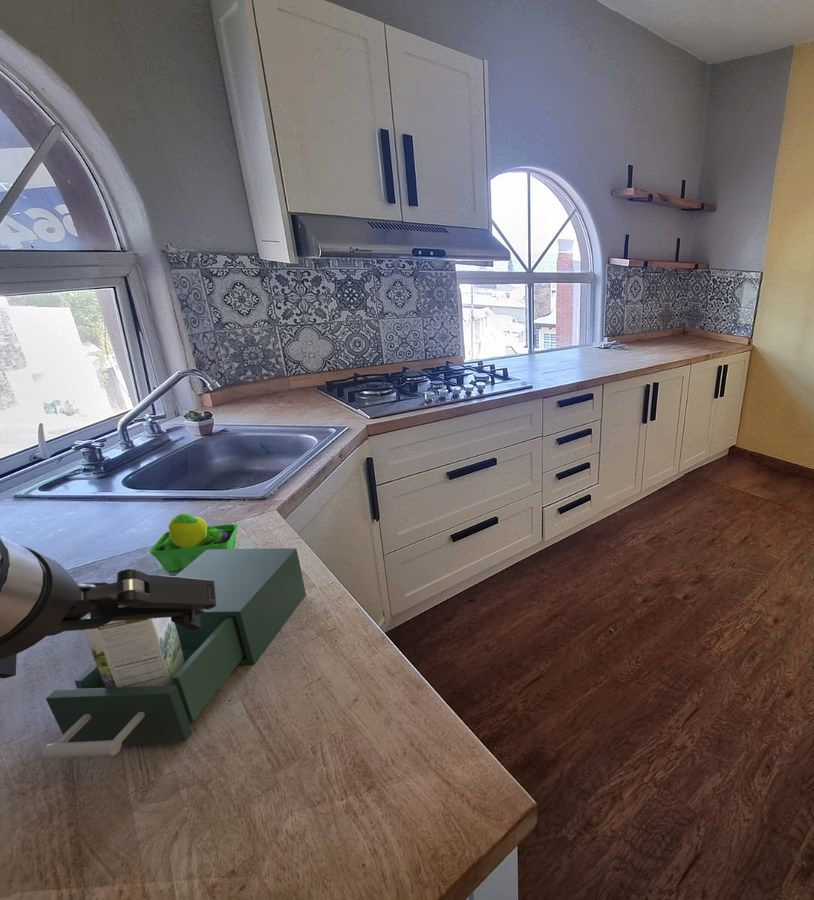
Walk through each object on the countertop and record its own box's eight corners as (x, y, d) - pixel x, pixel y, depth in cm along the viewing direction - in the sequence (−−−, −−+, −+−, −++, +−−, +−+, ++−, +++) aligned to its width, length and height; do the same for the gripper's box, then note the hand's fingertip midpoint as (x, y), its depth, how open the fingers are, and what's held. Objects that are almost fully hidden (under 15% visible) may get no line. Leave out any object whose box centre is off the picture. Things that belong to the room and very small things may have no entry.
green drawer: (154, 783, 53) (133, 733, 50) (25, 790, 52) (-3, 739, 49) (256, 649, 71) (245, 607, 68) (162, 652, 70) (147, 610, 67)
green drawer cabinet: (254, 664, 69) (240, 611, 66) (149, 668, 68) (129, 614, 65) (306, 594, 84) (296, 548, 81) (220, 596, 83) (206, 549, 79)
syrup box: (134, 690, 62) (96, 594, 57) (193, 674, 65) (162, 581, 60) (119, 726, 58) (76, 625, 52) (183, 707, 60) (148, 609, 55)
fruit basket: (244, 545, 97) (231, 493, 93) (230, 570, 89) (215, 515, 85) (173, 554, 93) (156, 500, 89) (152, 582, 86) (132, 524, 82)
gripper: (204, 503, 39) (255, 568, 56) (-366, 594, 27) (-79, 641, 45) (212, 597, 37) (263, 635, 54) (-410, 743, 25) (-88, 730, 42)
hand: (109, 637), depth 49 cm, fingers open, 13 cm apart
